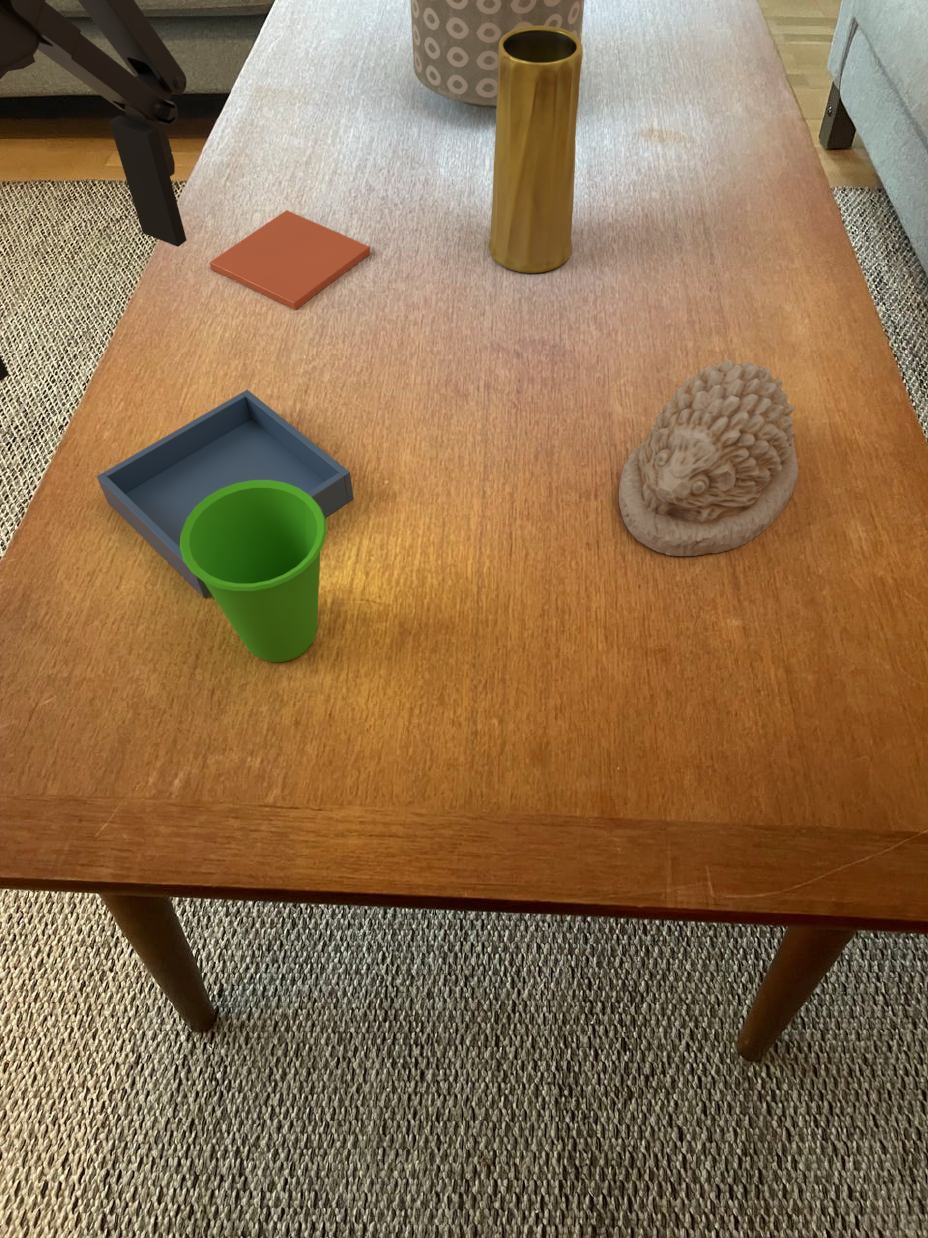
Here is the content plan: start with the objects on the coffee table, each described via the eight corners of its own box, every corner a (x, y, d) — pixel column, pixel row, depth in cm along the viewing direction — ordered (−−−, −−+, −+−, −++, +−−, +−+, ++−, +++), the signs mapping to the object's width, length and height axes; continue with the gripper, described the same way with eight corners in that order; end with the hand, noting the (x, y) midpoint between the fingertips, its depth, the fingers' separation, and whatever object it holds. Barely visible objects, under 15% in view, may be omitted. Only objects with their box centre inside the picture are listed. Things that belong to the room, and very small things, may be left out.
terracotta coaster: (295, 310, 92) (293, 302, 91) (210, 269, 96) (209, 261, 95) (370, 253, 97) (369, 246, 96) (287, 216, 101) (286, 209, 100)
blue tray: (204, 598, 72) (194, 572, 69) (107, 502, 78) (95, 475, 75) (354, 498, 78) (350, 471, 75) (253, 416, 83) (247, 388, 81)
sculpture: (580, 508, 77) (593, 410, 69) (702, 398, 84) (727, 298, 76) (710, 588, 72) (739, 493, 64) (827, 464, 79) (867, 365, 71)
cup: (191, 630, 70) (151, 527, 61) (295, 564, 74) (271, 457, 65) (264, 711, 66) (231, 613, 57) (370, 637, 70) (355, 534, 61)
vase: (514, 284, 94) (522, 76, 78) (473, 240, 98) (473, 34, 83) (587, 259, 96) (609, 52, 81) (544, 217, 100) (556, 13, 85)
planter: (564, 49, 122) (577, -127, 107) (587, 128, 111) (605, -57, 96) (411, 56, 121) (402, -120, 107) (418, 136, 110) (410, -49, 95)
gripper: (-362, -51, 29) (-52, 465, 46) (194, -260, 42) (276, 207, 59) (-502, -99, 31) (-157, 409, 49) (64, -283, 44) (180, 173, 61)
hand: (80, 299), depth 54 cm, fingers open, 13 cm apart
